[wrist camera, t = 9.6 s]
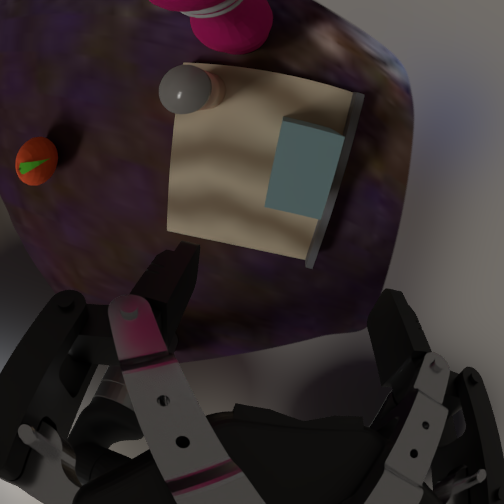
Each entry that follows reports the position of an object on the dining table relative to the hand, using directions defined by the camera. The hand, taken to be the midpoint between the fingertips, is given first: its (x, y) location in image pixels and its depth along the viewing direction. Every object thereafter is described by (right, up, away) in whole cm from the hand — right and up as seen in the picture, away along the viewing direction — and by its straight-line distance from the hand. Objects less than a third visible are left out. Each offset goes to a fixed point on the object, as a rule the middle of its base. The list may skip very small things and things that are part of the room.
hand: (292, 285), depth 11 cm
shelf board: (-1, +11, +18) cm, 21 cm away
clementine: (-31, +16, +19) cm, 39 cm away
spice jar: (-6, +17, +12) cm, 22 cm away
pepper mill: (-3, +24, +10) cm, 26 cm away
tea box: (+3, +11, +15) cm, 19 cm away
